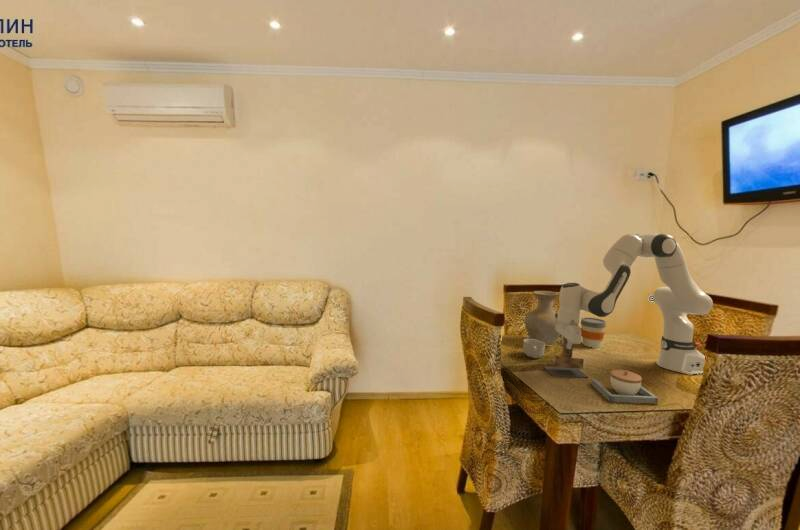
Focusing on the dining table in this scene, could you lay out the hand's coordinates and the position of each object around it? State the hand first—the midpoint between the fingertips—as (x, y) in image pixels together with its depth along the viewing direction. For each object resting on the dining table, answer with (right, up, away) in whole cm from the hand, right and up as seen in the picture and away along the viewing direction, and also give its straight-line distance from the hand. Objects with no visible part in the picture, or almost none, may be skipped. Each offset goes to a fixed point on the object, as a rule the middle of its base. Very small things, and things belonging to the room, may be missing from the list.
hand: (566, 347), depth 155 cm
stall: (+13, -14, -18) cm, 27 cm away
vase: (+7, -8, +43) cm, 44 cm away
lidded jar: (+15, -15, -18) cm, 28 cm away
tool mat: (0, -12, +1) cm, 12 cm away
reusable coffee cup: (+34, -9, +39) cm, 52 cm away
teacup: (-8, -10, +20) cm, 24 cm away
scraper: (0, -9, +1) cm, 9 cm away
